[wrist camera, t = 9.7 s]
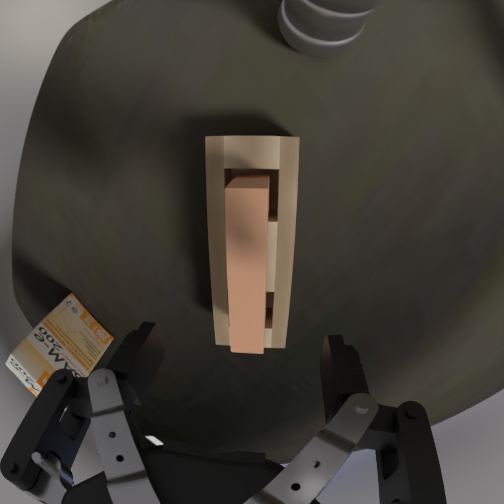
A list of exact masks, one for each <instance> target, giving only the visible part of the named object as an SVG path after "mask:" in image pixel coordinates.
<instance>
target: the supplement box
mask: <svg viewBox="0 0 504 504" xmlns="http://www.w3.org/2000/svg"><path fill="white" fill-rule="evenodd" d="M112 340H113V337H112V336H111V334H109V333H108V332H107V331H106V330H105V329H104V328H103V327H102V326H101V325H100V324H99V323H98V322H97V321H96V320H95V319H94V318H93V316H92V315H91V314H90V313H89V312H88V311H87V310H86V309H85V308H84V306H83V305H82V304H81V303H80V302H79V300H78V299H77V298H76V297H75V295H74V294H73V293H71V294H69V295H68V296H67V297H66V298H65V299H64V300H63V301H62V302H61V303H60V304H59V305H58V306H57V307H56V308H55V309H53V310H52V311H51V312H50V313H49V314H48V315H47V316H46V317H45V318H44V319H43V320H42V321H41V322H40V323H39V324H38V325H37V326H36V327H35V328H34V329H33V330H32V331H31V333H29V334H28V335H27V337H26V338H25V339H24V340H23V341H22V342H21V343H20V344H19V345H18V346H17V347H16V348H15V349H14V351H13V352H12V353H11V354H10V356H9V358H8V360H7V361H6V363H5V364H6V366H7V367H8V368H9V369H10V370H11V371H12V372H13V373H14V374H15V375H16V376H17V378H18V379H19V380H20V381H21V382H22V383H23V384H24V385H25V386H26V387H27V388H28V389H29V390H30V391H31V392H32V393H33V394H34V395H35V396H36V397H37V396H38V394H39V393H40V391H41V390H42V388H43V387H44V385H45V384H46V382H47V381H48V379H49V378H50V376H51V375H52V373H53V372H55V371H56V370H58V369H62V368H66V369H69V370H71V371H72V373H73V375H74V376H75V377H87V376H88V375H89V373H90V372H91V370H92V369H93V367H94V366H95V364H96V363H97V362H98V360H99V359H100V357H101V356H102V354H103V353H104V352H105V350H106V349H107V347H108V346H109V344H110V343H111V341H112ZM66 409H67V408H65V410H66ZM65 410H64V411H65Z"/></svg>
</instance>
